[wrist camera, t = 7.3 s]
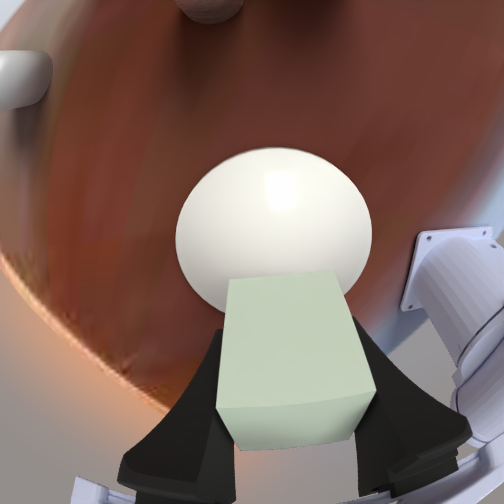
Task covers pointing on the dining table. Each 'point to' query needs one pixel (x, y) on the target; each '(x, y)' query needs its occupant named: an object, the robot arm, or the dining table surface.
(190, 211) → the plate
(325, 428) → the sage block
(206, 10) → the salt shaker
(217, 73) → the dining table surface
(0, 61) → the white rounded domed part
